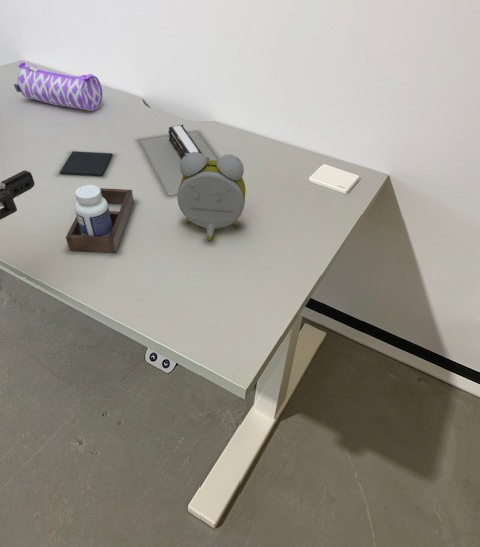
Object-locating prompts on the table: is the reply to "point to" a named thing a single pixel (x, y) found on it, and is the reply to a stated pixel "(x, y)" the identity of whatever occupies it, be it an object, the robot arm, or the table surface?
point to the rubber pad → (86, 163)
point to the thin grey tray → (173, 154)
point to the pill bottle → (92, 212)
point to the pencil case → (59, 88)
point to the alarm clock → (211, 191)
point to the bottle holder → (117, 218)
